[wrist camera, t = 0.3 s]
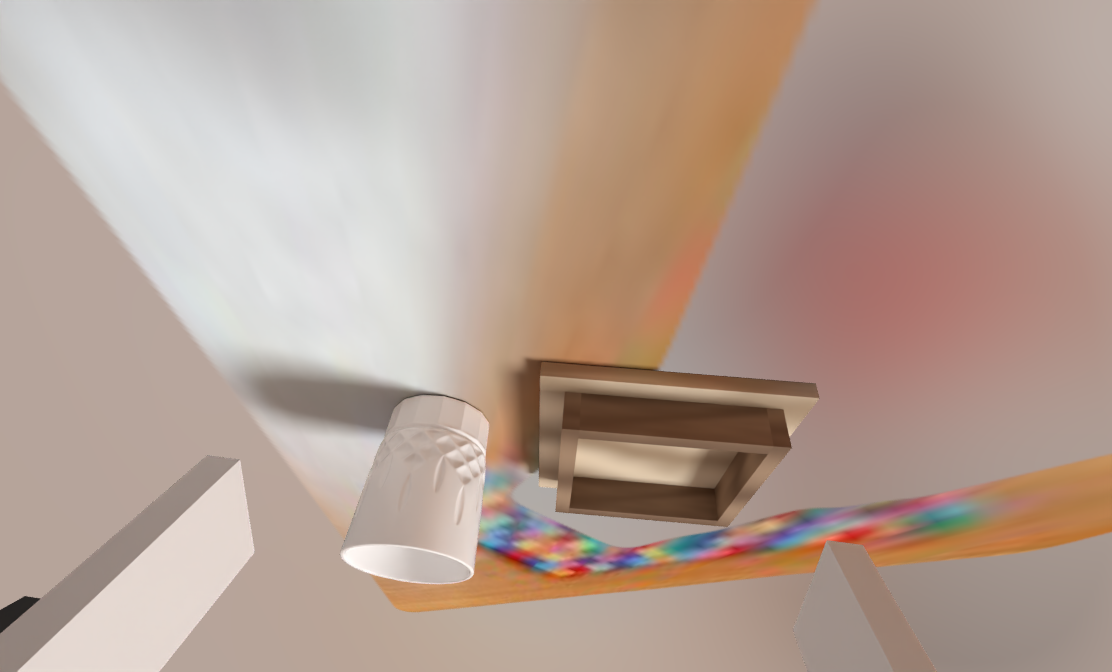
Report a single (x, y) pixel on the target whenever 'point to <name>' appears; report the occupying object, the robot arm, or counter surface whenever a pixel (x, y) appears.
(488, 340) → the counter surface
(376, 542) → the white cup
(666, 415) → the cup holder
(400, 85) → the counter surface
